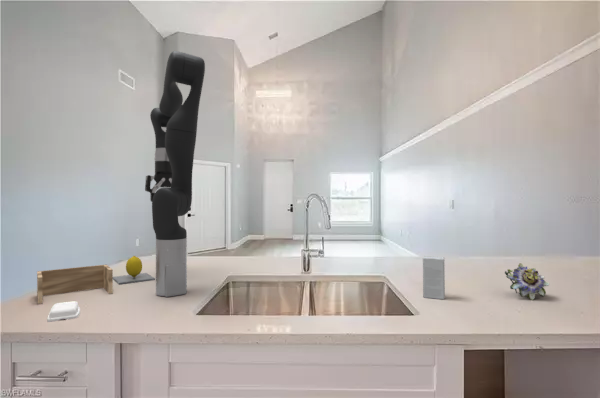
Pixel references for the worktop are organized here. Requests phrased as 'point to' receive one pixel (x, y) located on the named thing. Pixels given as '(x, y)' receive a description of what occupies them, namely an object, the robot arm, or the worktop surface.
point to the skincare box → (433, 277)
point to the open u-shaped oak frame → (74, 280)
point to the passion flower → (527, 281)
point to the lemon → (134, 266)
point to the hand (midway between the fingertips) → (165, 203)
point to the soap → (64, 311)
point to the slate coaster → (133, 278)
